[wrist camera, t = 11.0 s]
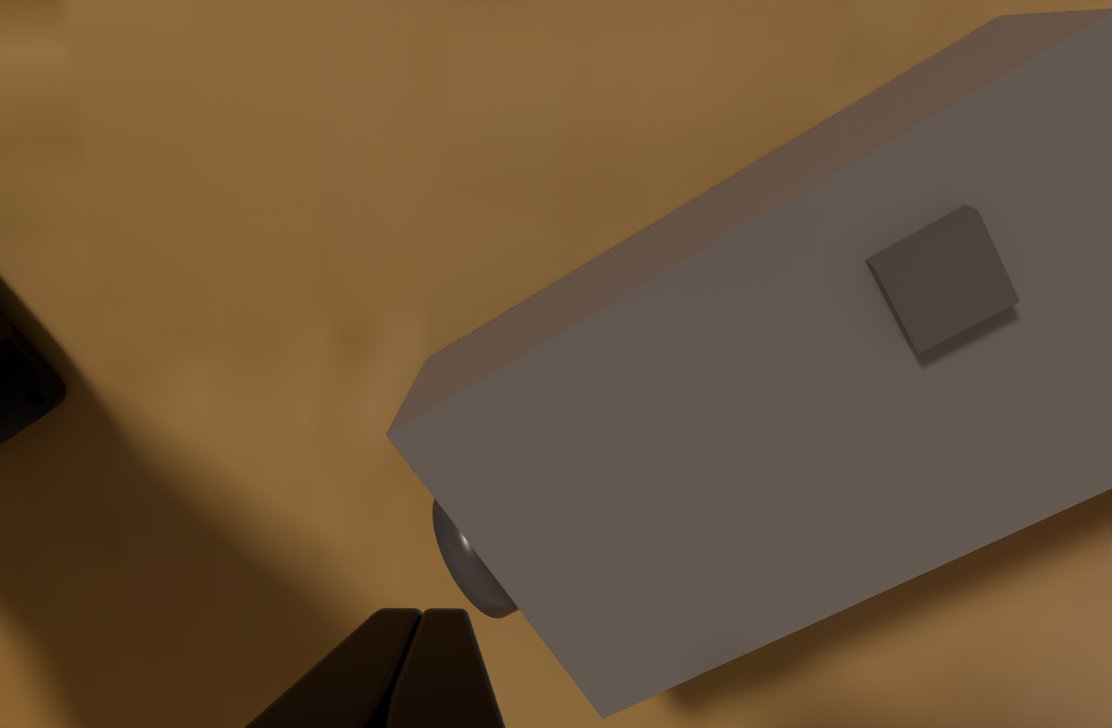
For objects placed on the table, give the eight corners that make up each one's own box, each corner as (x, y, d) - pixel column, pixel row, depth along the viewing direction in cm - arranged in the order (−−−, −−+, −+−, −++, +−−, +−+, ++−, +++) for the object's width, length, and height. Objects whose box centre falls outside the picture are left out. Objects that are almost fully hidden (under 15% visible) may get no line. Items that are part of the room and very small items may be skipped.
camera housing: (572, 623, 22) (567, 759, 18) (391, 380, 20) (337, 470, 16) (1138, 347, 19) (1294, 435, 15) (999, 16, 17) (1138, 7, 12)
